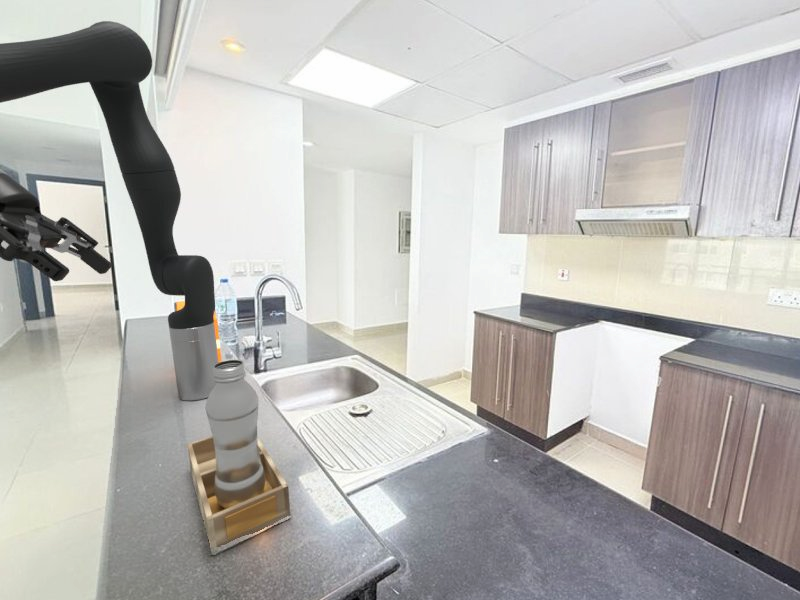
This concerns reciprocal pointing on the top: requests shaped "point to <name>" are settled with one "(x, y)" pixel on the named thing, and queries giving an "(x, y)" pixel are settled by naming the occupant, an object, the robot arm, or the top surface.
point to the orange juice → (181, 305)
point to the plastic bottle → (234, 435)
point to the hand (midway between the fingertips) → (87, 272)
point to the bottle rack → (243, 515)
